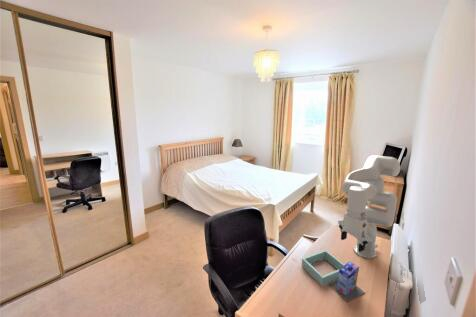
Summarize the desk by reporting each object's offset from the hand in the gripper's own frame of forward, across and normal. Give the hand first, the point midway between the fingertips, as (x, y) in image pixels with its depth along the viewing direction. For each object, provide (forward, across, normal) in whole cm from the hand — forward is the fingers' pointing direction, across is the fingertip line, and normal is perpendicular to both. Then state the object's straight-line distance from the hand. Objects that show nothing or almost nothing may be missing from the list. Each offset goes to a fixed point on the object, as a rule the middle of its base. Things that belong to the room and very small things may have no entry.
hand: (352, 244), depth 102 cm
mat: (+26, 0, +1) cm, 26 cm away
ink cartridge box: (+25, 0, +1) cm, 25 cm away
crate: (+26, +14, +2) cm, 29 cm away
